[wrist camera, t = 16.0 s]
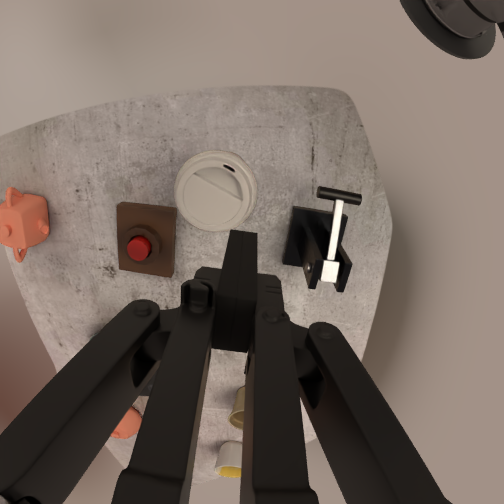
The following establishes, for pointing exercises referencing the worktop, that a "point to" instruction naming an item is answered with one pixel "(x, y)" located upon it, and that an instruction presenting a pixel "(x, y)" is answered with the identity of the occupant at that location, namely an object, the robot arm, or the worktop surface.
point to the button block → (147, 237)
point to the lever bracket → (314, 245)
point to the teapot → (23, 221)
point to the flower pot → (238, 410)
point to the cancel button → (139, 248)
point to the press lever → (334, 228)
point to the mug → (229, 460)
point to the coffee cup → (215, 191)
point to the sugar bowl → (128, 425)
